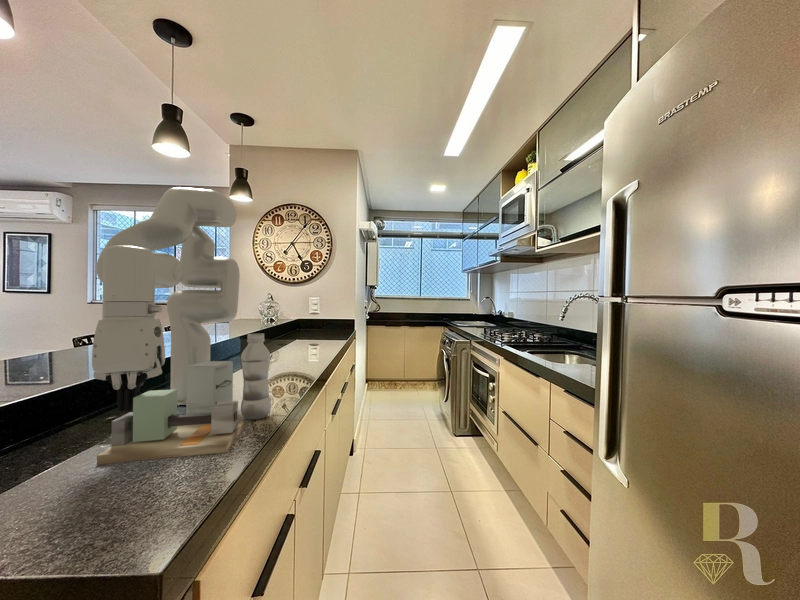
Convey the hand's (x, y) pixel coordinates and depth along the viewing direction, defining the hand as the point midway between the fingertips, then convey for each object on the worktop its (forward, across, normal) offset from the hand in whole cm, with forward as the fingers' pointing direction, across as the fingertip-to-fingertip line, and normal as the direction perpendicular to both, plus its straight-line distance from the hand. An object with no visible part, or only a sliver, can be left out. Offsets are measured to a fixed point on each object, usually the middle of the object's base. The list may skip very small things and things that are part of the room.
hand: (128, 408), depth 59 cm
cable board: (+7, -9, 0) cm, 11 cm away
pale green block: (+5, -5, 0) cm, 7 cm away
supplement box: (+8, -8, -18) cm, 21 cm away
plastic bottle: (+8, -20, -12) cm, 24 cm away
